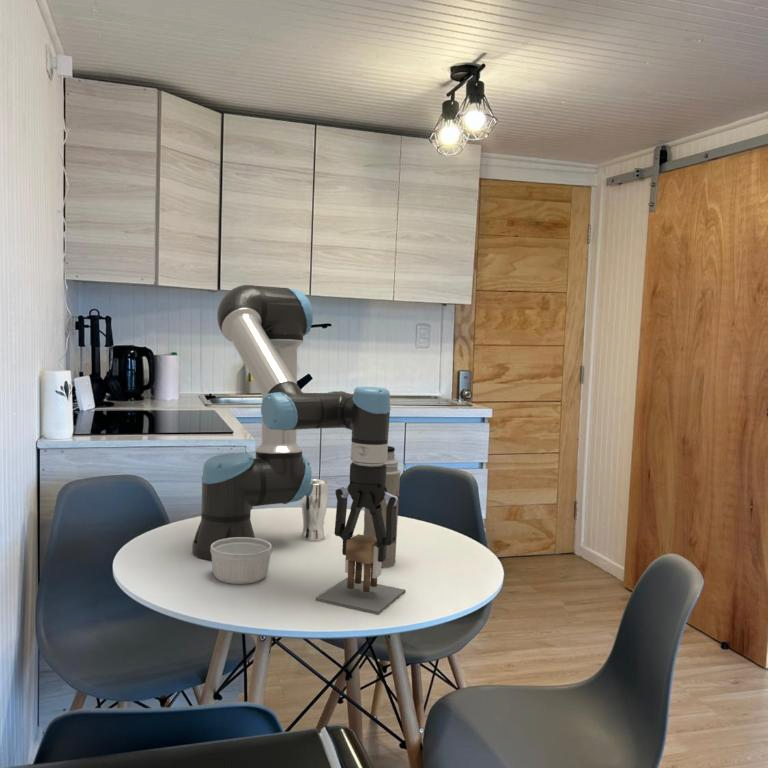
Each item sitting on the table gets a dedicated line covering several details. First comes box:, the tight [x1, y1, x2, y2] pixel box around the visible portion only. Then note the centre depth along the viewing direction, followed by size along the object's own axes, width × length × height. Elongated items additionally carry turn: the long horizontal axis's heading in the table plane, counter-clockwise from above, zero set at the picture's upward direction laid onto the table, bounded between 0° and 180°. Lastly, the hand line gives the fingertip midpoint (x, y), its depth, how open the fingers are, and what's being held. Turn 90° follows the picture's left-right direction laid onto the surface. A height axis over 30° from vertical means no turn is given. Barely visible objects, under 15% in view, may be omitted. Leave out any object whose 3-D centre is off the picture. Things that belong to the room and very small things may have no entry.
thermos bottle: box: [362, 445, 401, 568], centre depth 170 cm, size 8×8×28 cm
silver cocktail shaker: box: [300, 478, 329, 542], centre depth 188 cm, size 7×7×15 cm
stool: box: [345, 533, 378, 592], centre depth 148 cm, size 6×6×10 cm
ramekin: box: [210, 537, 273, 585], centre depth 157 cm, size 13×13×7 cm
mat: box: [315, 577, 406, 615], centre depth 148 cm, size 14×14×1 cm
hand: (362, 573), depth 148 cm, fingers closed on stool, 5 cm apart
